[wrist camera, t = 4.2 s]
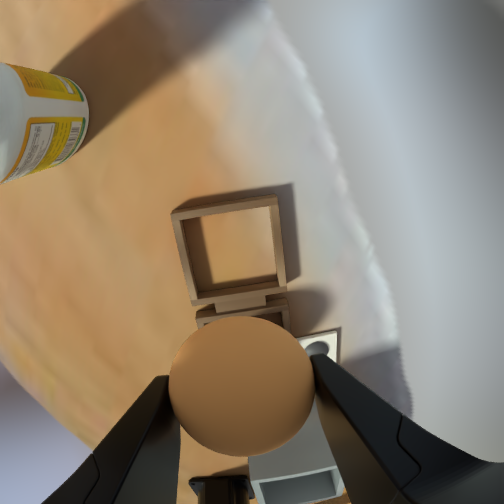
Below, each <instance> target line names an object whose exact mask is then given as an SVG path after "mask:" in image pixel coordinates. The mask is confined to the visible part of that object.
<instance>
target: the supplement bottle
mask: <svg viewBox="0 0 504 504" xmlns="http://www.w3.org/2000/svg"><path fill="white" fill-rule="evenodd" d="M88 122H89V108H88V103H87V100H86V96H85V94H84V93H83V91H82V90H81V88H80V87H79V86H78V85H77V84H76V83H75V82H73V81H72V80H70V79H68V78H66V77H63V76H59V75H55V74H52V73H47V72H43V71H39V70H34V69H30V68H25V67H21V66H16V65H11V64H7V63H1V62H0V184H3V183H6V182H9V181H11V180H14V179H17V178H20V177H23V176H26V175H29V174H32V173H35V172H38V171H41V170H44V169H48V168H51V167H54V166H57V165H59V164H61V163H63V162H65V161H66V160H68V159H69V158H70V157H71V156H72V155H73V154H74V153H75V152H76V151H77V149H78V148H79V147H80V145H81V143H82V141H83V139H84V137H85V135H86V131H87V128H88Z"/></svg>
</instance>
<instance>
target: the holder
mask: <svg viewBox="0 0 504 504" xmlns="http://www.w3.org/2000/svg"><path fill="white" fill-rule="evenodd" d="M265 206H269V210H270V219H271V227H272V235H273V244H274V252H275V261H276V270H277V279H278V281H271V282H265V283H259V284H253V285H246V286H240V287H233V288H227V289H220V290H214V291H207V292H200V293H198V290H197V286H196V281H195V277H194V273H193V268H192V264H191V260H190V255H189V251H188V246H187V242H186V237H185V232H184V228H183V223H182V220H184V219H189V218H195V217H201V216H207V215H213V214H220V213H226V212H232V211H239V210H245V209H252V208H258V207H265ZM170 215H171V220H172V224H173V229H174V233H175V238H176V242H177V247H178V251H179V255H180V260H181V264H182V268H183V272H184V276H185V280H186V284H187V288H188V292H189V296H190V300H191V304H192V306H197V305H205V304H212V303H214V304H215V308H216V309H212V310H205V311H197V312H196V322H197V326H198V330H199V329H200V328H202V327H203V326H205V325H206V323H210V322H213V321H216V320H219V319H222V318H227V317H235V316H249V317H250V316H257V315H263V314H269V313H275V312H281V316H282V325H283V329H285V330H286V331H288V332H289V333H290V334H291V328H290V316H289V305H288V302H287V299H286V298H282V299H276V300H270V301H266V299H265V295H270V294H276V293H282V292H287V284H286V274H285V264H284V254H283V244H282V235H281V226H280V217H279V208H278V199H277V196H276V195H275V194H271V195H264V196H257V197H251V198H244V199H238V200H231V201H225V202H219V203H212V204H206V205H200V206H195V207H189V208H183V209H177V210H173V211H172V212H171V214H170Z"/></svg>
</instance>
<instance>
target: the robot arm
mask: <svg viewBox="0 0 504 504" xmlns="http://www.w3.org/2000/svg"><path fill="white" fill-rule="evenodd" d="M309 359H310V361H311V364H312V367H313V371H314V375H315V387H316V389H315V402H316V406H317V411H318V415H319V419H320V423H321V426H322V429H323V432H324V434H325V437H326V439H327V442H328V444H329V447H330V450H331V452H332V455H333V457H334V460H335V462H336V465H337V468H338V470H339V473H340V475H341V478H342V481H343V483H344V486H345V488H346V491H347V493H348V496H349V499H350V501H351V504H504V463H495V462H488V461H484V460H481V459H478V458H476V457H474V456H472V455H470V454H468V453H466V452H464V451H462V450H460V449H458V448H456V447H455V446H453V445H451V444H449V443H447V442H445V441H443V440H442V439H440V438H438V437H437V436H435V435H433V434H431V433H430V432H428V431H426V430H425V429H423V428H422V427H421V426H419V425H418V424H416V423H415V422H413V421H412V420H411V419H409V418H408V417H407V416H405V415H403V416H402V413H401V412H400V411H398V410H397V409H396V408H394V407H393V406H392V405H390V404H389V403H388V402H386V401H385V400H384V399H383V398H381V397H380V396H379V395H377V394H376V393H375V392H373V391H372V390H371V389H369V388H368V387H367V386H365V385H364V384H363V383H362V382H360V381H359V380H358V379H356V378H355V377H354V376H353V375H351V374H350V373H349V372H347V371H346V370H345V369H344V368H342V367H341V366H340V365H338V364H337V363H336V362H335V361H333V360H332V359H331V358H330V357H328V356H327V355H326V354H324V353H318V354H313V355H311V356H310V357H309ZM180 445H181V438H180V423H179V421H178V419H177V417H176V416H175V414H174V411H173V408H172V405H171V402H170V396H169V375H161V376H156V377H155V378H154V379H153V381H152V382H151V383H150V384H149V385H148V387H147V388H146V389H145V390H144V391H143V392H142V394H141V395H140V396H139V397H138V398H137V400H136V401H135V402H134V403H133V404H132V406H131V407H130V408H129V409H128V410H127V412H126V413H125V414H124V415H123V416H122V417H121V419H120V420H119V421H118V422H117V423H116V425H115V426H114V427H113V428H112V429H111V431H110V432H109V433H108V434H107V435H106V436H105V438H104V439H103V440H102V441H101V442H100V444H99V445H98V446H97V447H96V448H95V449H94V451H93V454H90V455H89V456H88V458H87V459H86V460H85V461H84V462H83V463H82V464H81V466H80V467H79V468H78V469H77V470H76V471H75V472H74V473H73V474H72V475H71V476H70V477H69V478H68V479H67V480H66V481H65V482H64V483H63V484H62V485H61V486H60V487H59V488H58V489H57V490H56V491H54V492H53V493H52V494H51V495H50V496H49V497H48V498H47V499H46V500H45V501H43V502H42V503H41V504H176V499H177V484H178V471H179V459H180ZM189 485H190V487H191V488H192V489H193V491H194V492H195V493H196V495H197V496H198V504H250V503H249V500H250V499H254V498H255V496H254V493H253V490H252V487H251V484H250V482H249V479H248V477H247V476H236V477H224V478H210V479H190V480H189Z"/></svg>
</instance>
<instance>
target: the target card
mask: <svg viewBox="0 0 504 504" xmlns="http://www.w3.org/2000/svg"><path fill="white" fill-rule="evenodd" d="M295 339H297V341H298V342H299V343H300V344H301V346H302V347H303V348H304V350H305V351H306V353H307V355H308V357H310V356H311V355H313V354H318V353H324V354H326V355H327V356H328V357H330V358H331V359H332V360H333V361H335V362H336V348H337V332H336V330H335V331H330V332H325V333H320V334H315V335H310V336H305V337H300V338H295Z"/></svg>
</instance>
